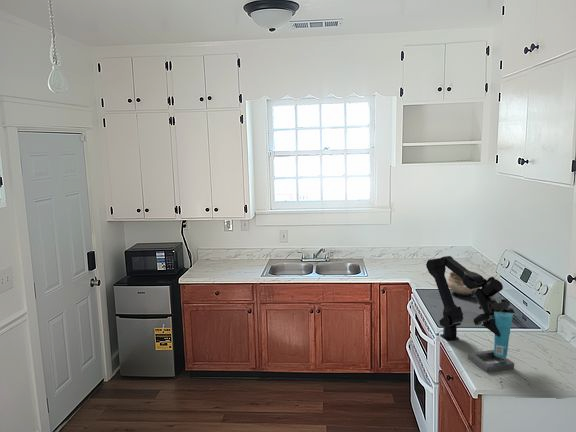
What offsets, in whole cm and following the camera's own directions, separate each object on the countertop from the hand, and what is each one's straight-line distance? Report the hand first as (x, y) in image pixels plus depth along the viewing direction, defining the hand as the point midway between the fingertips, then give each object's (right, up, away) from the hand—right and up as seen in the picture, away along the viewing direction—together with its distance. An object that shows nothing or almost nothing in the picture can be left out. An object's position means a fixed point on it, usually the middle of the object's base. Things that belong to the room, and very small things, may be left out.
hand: (504, 335), depth 201 cm
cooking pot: (+16, +2, +92) cm, 94 cm away
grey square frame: (-4, -13, +3) cm, 14 cm away
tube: (0, -9, +3) cm, 10 cm away
